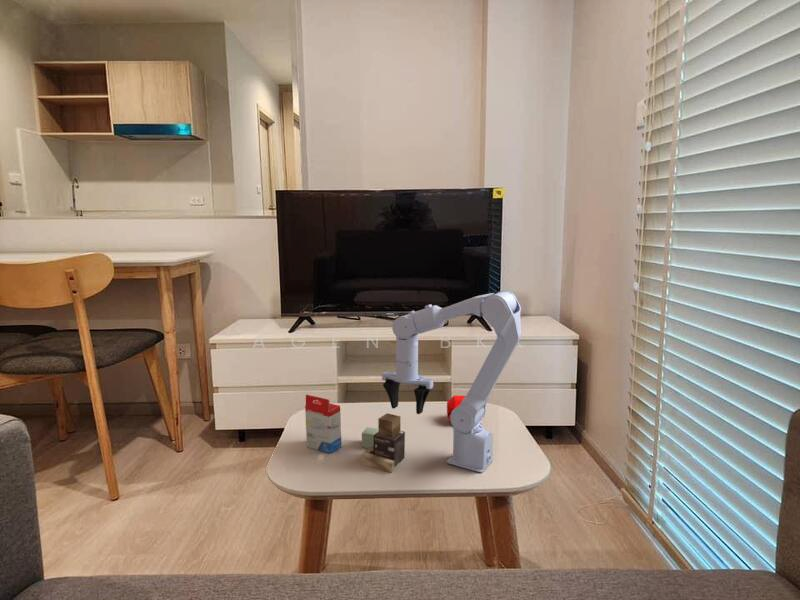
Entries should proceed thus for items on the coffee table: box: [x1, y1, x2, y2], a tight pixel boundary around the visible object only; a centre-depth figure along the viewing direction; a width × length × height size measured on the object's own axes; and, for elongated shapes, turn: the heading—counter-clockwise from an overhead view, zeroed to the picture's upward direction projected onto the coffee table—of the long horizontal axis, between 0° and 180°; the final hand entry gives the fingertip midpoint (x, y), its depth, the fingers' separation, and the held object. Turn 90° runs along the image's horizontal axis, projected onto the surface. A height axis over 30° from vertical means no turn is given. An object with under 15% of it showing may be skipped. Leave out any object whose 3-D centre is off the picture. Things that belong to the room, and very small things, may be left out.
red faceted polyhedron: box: [446, 395, 466, 420], centre depth 144 cm, size 8×8×8 cm
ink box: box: [304, 394, 342, 454], centre depth 127 cm, size 8×5×15 cm, turn 59°
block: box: [361, 426, 379, 449], centre depth 129 cm, size 4×4×4 cm
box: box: [373, 430, 406, 468], centre depth 120 cm, size 6×6×7 cm
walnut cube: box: [377, 413, 401, 437], centre depth 119 cm, size 4×4×4 cm
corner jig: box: [360, 446, 395, 474], centre depth 120 cm, size 9×9×2 cm
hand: (407, 410), depth 126 cm, fingers open, 7 cm apart
